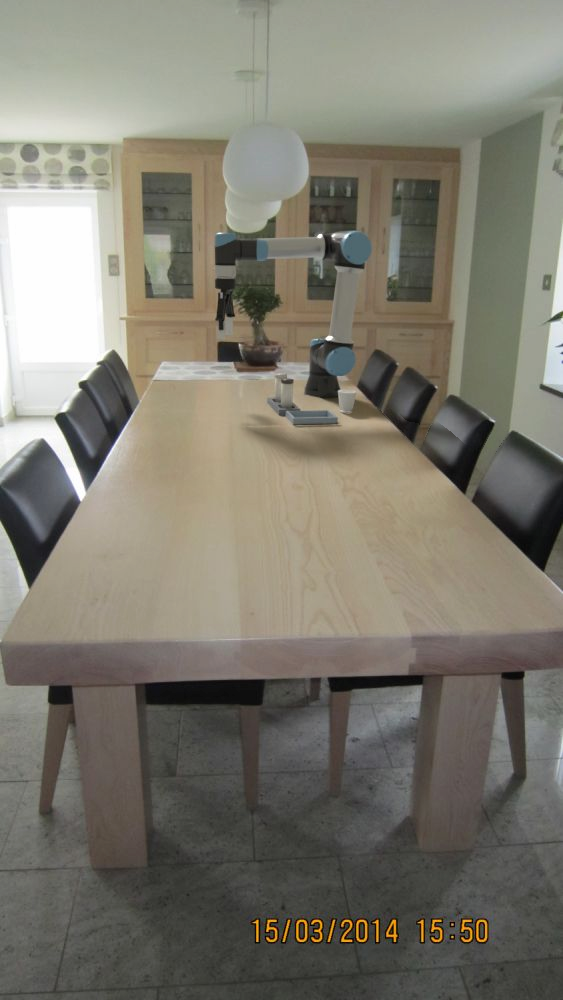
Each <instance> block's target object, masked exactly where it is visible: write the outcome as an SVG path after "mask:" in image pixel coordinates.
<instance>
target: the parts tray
mask: <svg viewBox="0 0 563 1000" xmlns="http://www.w3.org/2000/svg"><path fill="white" fill-rule="evenodd" d="M285 418H287V420H289V421H290V423H291V425H295V426H322V425H323V426H324V425H325V426H327V425H328V426H329V425H333V424H335V425H338V420H339V418H338V416H337V415H336V414H334V413H333V412H332V411H330V410H329V409H319V410H318V409H316V410H315V409H313V410H301V411H286V415H285Z"/></svg>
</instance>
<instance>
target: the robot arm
mask: <svg viewBox="0 0 563 1000" xmlns="http://www.w3.org/2000/svg"><path fill="white" fill-rule="evenodd" d="M372 249H373V246H372V242H371V239H370V238H369V237H368V235H367V234H366V233H364V232H362V231H358V230H340V231H336V232H329V233H319V234H318V235H317V236H307V237H306V236H305V237H271V238H270V237H266V238H264V237H263V238H262V237H261V238H259V237H258V238H237V236H236V233H234V232H217V233H216V234H215V236H214V267H213V271H214V276H215V277H216V278H215V279H214V288H215V289H216V290H220V291H219V292H218V293H217V306H216V307H217V308H216V316H215V319H214V320H215V322H217V340H226V336H227V335H228V336H233V335H234V318H236V313H235V309H234V299H233V290H235V289H236V285H237V284H236V281H237V279H236V275H237V272H236V271H237V268H236V267H237V265H236V262H237V261H239V262H241V261H243V262H244V261H245V262H247V261H249V262H263V261H264V262H265V261H267V260H274V259H275V260H276V259H277V260H278V259H304V258H306V259H307V258H310V259H311V258H317V259H318V260H320V261H333V262H334V263H333V267H334V268H335V270H336V278H335V279H336V281H335V288H334V294H333V295H334V296H333V301H332V307H331V308H332V310H331V311H332V312H331V316H330V317H331V319H330V325H329V326H330V327H329V333H328V335H327V336H326V337H324V338H313V339H311V340H310V344H309V345H310V346H309V374H308V377H307V381H306V382H305V386H304V391H303V394H304V395H305V396H306V395H307V396H310V397H319V398H325V399H326V398H336V397H337V398H338V391H339V390H341V386H340V382H339V378H338V377H343V376H347V375H348V374H349V373H351V372H352V371H353V369H354V368H355V365H356V359H357V358H356V354H355V352H354V350H353V349H354V344H355V341H354V340H353V339H352V330H353V323H354V317H355V316H354V315H355V308H356V302H357V297H358V287H359V282H360V275H361V273H363V272H364V271H365V266H366V262H367V261H368V260H369V258H370V257H371V254H372Z"/></svg>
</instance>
